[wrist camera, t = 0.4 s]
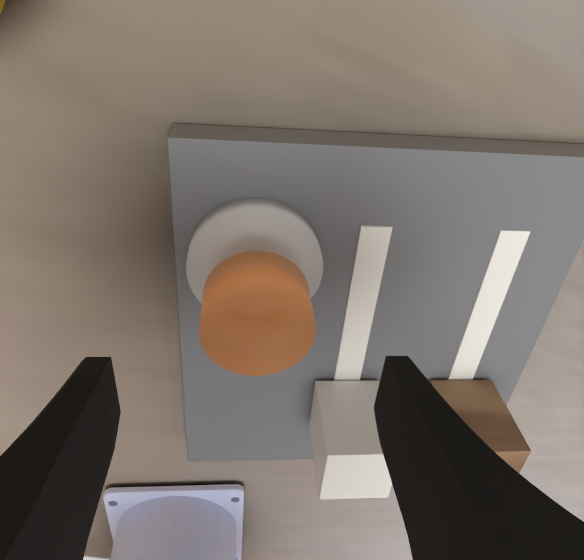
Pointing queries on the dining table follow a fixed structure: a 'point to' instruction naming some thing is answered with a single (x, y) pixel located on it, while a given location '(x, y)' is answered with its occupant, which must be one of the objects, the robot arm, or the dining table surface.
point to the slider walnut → (486, 417)
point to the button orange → (256, 314)
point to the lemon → (1, 5)
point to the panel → (368, 261)
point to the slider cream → (347, 441)
